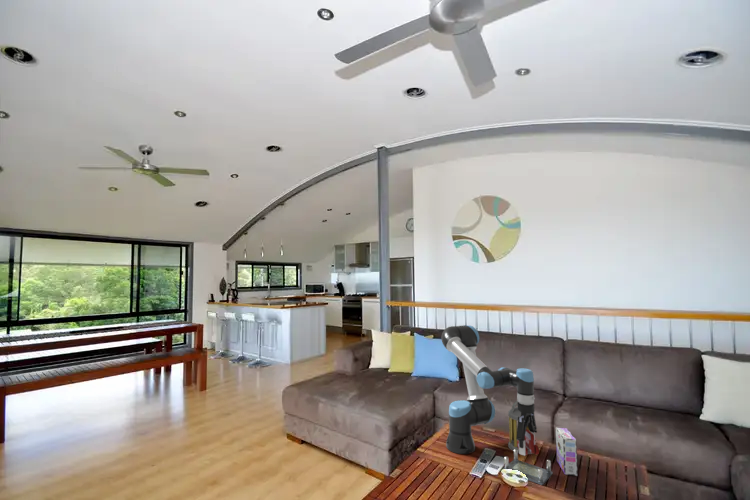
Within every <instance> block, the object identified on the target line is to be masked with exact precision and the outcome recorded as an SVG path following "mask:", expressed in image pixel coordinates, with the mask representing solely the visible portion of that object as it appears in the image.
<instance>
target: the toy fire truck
mask: <svg viewBox="0 0 750 500" xmlns="http://www.w3.org/2000/svg"><path fill="white" fill-rule="evenodd" d="M524 440H525V450H526V455H525V456H527V455H529V454H528V452H529V453H533V454H534V455H539V453H540V449H539V446H538V445H537V444H535V445H534V435H533V434H532V433H531V432H530V431H529V430H528V429H526V433H525V438H524ZM517 447H518V449H519V440H518V441H517Z"/></svg>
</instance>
